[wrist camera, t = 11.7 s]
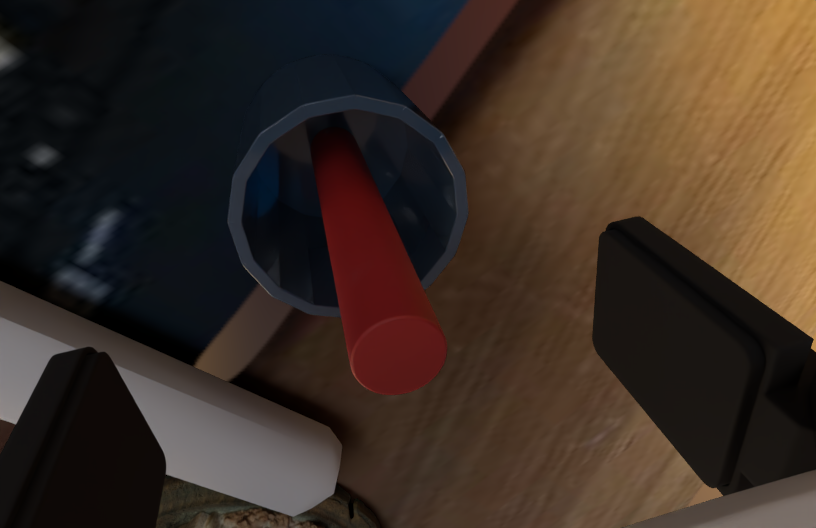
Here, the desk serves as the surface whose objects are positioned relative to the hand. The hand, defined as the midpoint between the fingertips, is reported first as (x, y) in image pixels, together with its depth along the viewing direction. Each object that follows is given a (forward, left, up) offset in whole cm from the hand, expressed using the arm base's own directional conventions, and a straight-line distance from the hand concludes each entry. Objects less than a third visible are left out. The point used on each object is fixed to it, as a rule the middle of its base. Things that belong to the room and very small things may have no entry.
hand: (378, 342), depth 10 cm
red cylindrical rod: (+1, 0, -14) cm, 14 cm away
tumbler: (0, 0, -15) cm, 15 cm away
